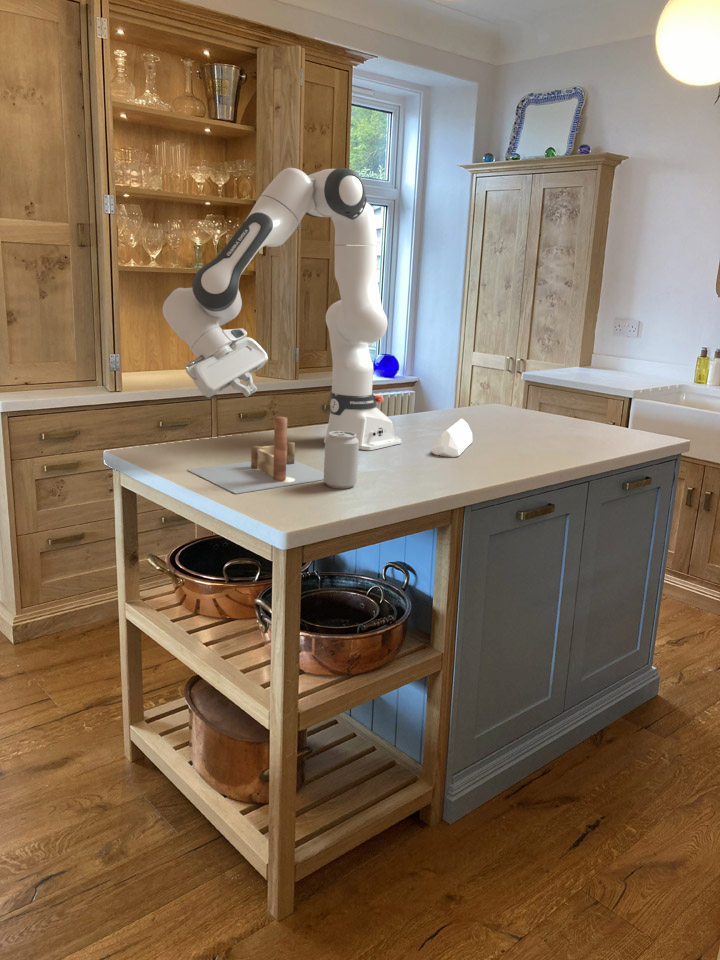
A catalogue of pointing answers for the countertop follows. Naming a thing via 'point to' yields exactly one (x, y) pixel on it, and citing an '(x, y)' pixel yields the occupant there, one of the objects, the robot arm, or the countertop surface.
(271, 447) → the fixed rail
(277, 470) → the rail
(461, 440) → the white chamfered prism
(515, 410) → the countertop surface
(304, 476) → the card
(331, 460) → the can
